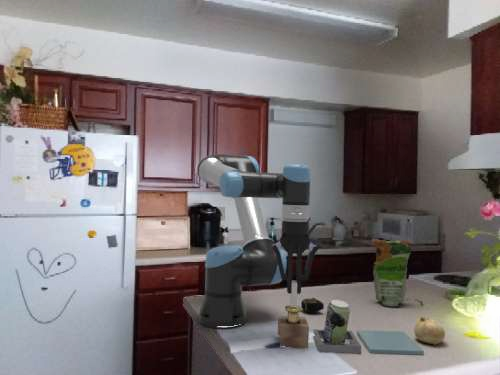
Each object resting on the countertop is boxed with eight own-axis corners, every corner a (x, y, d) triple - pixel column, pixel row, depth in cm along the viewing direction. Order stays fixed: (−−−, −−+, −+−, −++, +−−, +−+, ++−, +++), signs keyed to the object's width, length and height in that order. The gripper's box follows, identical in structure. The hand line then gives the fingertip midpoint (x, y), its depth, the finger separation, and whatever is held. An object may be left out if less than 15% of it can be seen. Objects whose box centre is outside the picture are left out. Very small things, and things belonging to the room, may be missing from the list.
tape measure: (325, 312, 133) (324, 301, 133) (307, 315, 131) (306, 304, 131) (315, 306, 140) (315, 296, 140) (298, 309, 138) (297, 299, 138)
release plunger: (285, 336, 105) (285, 309, 105) (284, 330, 110) (284, 304, 110) (301, 337, 105) (302, 309, 105) (299, 331, 110) (300, 305, 110)
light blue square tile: (370, 353, 102) (370, 349, 102) (356, 333, 116) (356, 330, 116) (423, 355, 102) (423, 351, 102) (403, 335, 116) (404, 331, 116)
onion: (435, 336, 115) (436, 313, 115) (450, 347, 107) (451, 322, 107) (409, 336, 115) (409, 312, 115) (422, 347, 107) (422, 321, 107)
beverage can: (329, 337, 112) (330, 296, 112) (353, 344, 107) (354, 301, 107) (318, 344, 107) (319, 300, 107) (343, 351, 102) (344, 306, 103)
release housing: (279, 348, 104) (279, 325, 104) (277, 337, 112) (278, 316, 112) (308, 349, 104) (308, 326, 104) (304, 338, 111) (305, 317, 111)
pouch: (412, 304, 147) (413, 239, 147) (393, 309, 140) (395, 241, 140) (387, 297, 156) (388, 236, 156) (368, 302, 149) (369, 237, 150)
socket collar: (318, 351, 102) (319, 344, 102) (313, 336, 113) (313, 329, 113) (360, 353, 102) (361, 345, 102) (351, 337, 113) (351, 330, 113)
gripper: (272, 220, 104) (270, 308, 104) (321, 221, 104) (319, 310, 104) (271, 218, 112) (269, 300, 111) (316, 219, 111) (315, 302, 111)
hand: (293, 305), depth 107 cm, fingers closed
